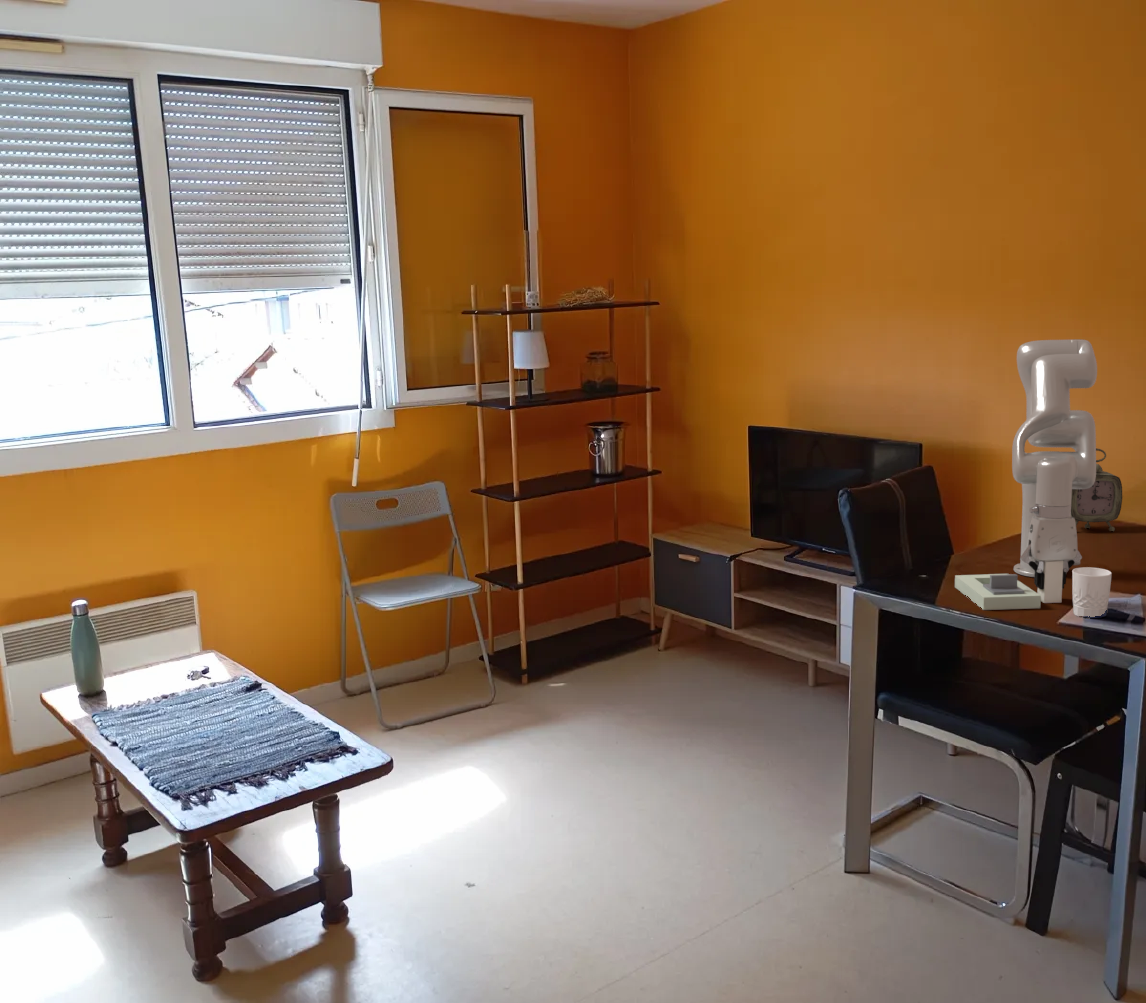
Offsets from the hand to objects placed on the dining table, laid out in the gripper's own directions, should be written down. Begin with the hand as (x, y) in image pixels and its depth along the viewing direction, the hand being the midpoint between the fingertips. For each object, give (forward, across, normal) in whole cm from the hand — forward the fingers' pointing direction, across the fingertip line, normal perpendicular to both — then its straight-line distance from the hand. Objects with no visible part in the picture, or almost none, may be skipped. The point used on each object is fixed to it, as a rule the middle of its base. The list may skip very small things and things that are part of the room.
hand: (1049, 586), depth 245 cm
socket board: (+3, -11, +4) cm, 12 cm away
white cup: (+4, +4, -12) cm, 13 cm away
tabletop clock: (+3, +41, +71) cm, 82 cm away
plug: (+3, 0, 0) cm, 3 cm away
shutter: (0, -11, -1) cm, 11 cm away
